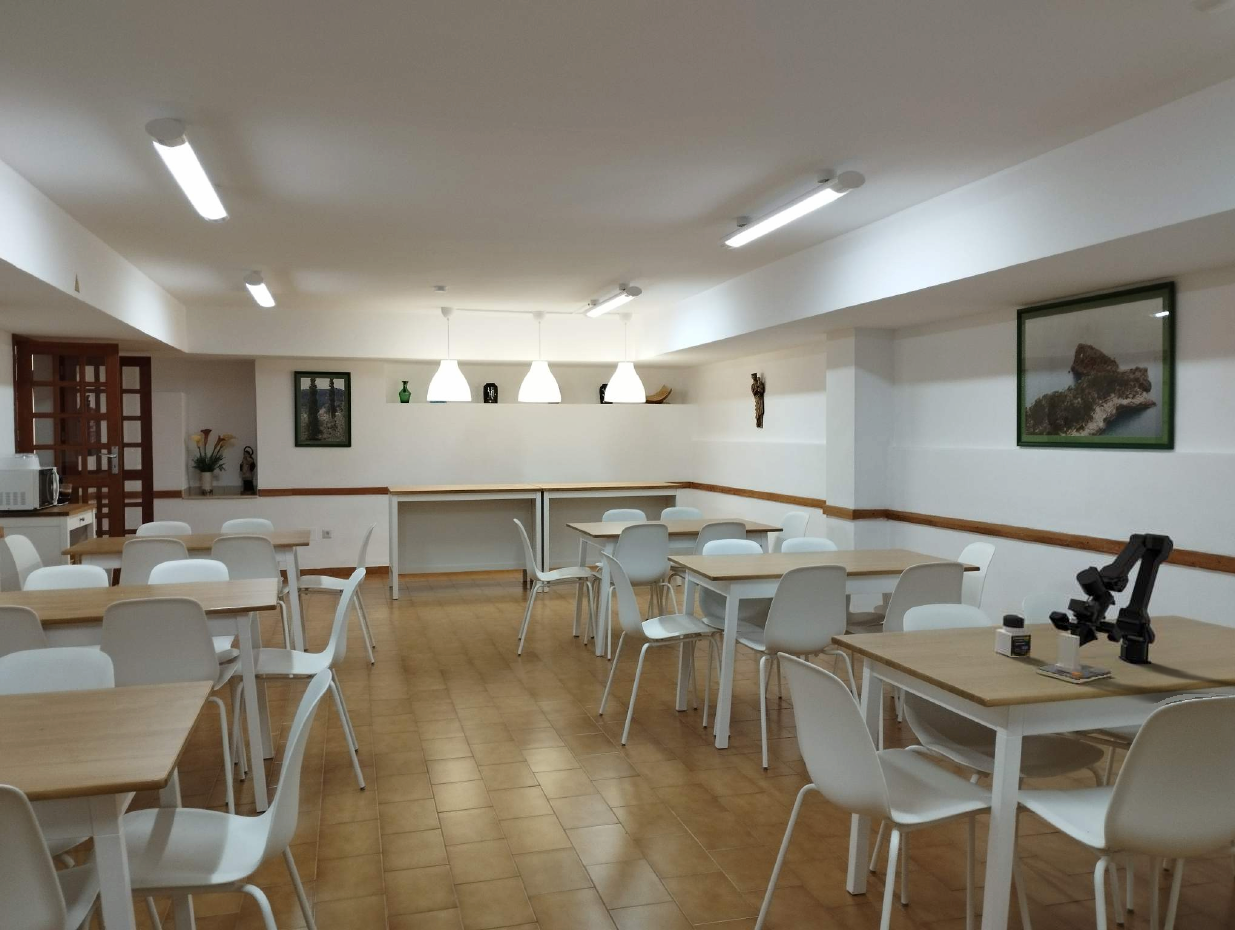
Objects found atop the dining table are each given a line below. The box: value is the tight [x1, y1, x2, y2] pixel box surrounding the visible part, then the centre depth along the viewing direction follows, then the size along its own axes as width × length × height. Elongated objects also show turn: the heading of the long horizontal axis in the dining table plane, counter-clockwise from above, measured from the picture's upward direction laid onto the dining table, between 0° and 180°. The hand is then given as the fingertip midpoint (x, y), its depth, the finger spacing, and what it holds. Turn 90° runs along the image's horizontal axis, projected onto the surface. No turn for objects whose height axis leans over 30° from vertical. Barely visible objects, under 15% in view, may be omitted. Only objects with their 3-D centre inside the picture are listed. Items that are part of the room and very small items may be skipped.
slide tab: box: [1054, 632, 1081, 673], centre depth 248 cm, size 4×5×10 cm
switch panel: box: [1035, 662, 1112, 680], centre depth 250 cm, size 16×12×2 cm
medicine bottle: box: [994, 613, 1032, 657], centre depth 271 cm, size 7×7×12 cm
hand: (1071, 649), depth 248 cm, fingers closed, pressing on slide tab
